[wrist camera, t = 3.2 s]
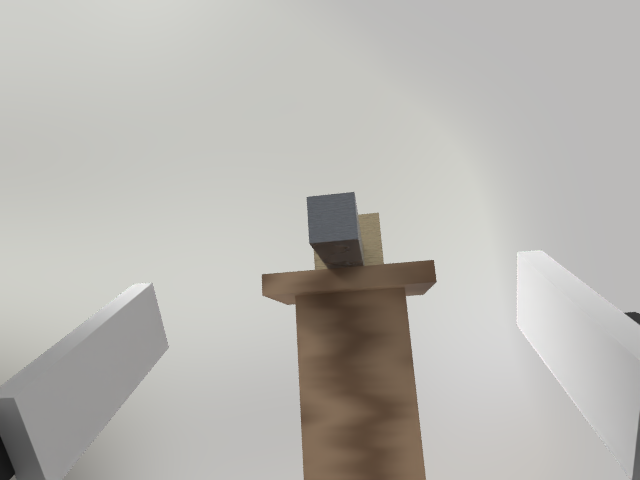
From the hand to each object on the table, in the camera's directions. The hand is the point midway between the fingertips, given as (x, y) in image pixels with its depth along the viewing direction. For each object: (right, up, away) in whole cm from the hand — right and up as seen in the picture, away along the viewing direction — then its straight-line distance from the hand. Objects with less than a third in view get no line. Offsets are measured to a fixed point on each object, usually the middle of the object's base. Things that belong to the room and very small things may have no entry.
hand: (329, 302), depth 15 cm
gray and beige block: (+1, 0, +14) cm, 14 cm away
